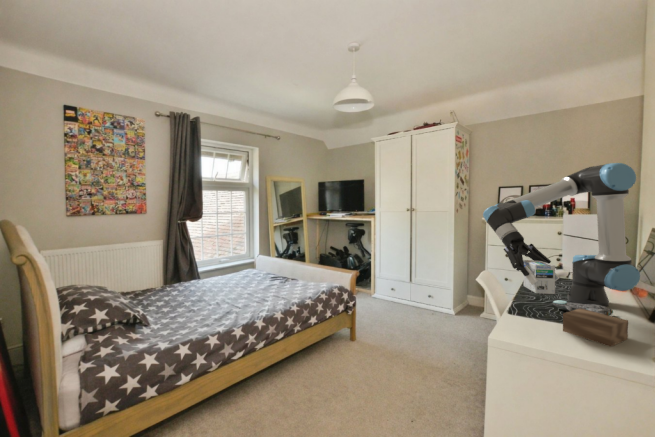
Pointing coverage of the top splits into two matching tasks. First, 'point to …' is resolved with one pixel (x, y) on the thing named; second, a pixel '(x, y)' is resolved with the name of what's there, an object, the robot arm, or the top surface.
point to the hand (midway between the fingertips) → (545, 281)
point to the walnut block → (595, 326)
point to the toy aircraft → (582, 307)
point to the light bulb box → (541, 277)
